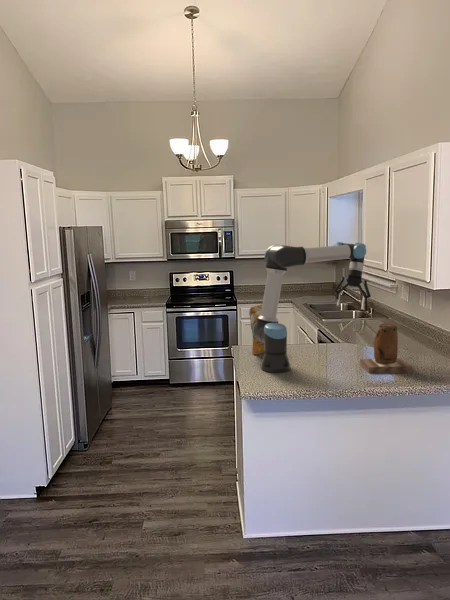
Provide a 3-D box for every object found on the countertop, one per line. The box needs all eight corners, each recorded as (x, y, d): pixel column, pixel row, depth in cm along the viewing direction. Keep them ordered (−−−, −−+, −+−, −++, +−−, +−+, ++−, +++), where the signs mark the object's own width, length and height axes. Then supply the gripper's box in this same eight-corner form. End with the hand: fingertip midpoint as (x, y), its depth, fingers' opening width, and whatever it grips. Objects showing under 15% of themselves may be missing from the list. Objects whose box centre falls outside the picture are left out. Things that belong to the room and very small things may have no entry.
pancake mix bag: (245, 354, 277) (245, 307, 273) (264, 347, 292) (264, 303, 287) (255, 356, 273) (254, 308, 269) (273, 349, 287) (273, 304, 283)
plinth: (368, 373, 239) (369, 366, 238) (359, 364, 254) (360, 358, 253) (412, 372, 239) (412, 365, 239) (400, 363, 254) (400, 357, 254)
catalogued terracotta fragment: (391, 359, 250) (393, 322, 247) (398, 363, 243) (400, 325, 240) (372, 360, 249) (373, 323, 246) (377, 364, 242) (379, 326, 239)
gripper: (376, 274, 270) (371, 311, 268) (332, 268, 273) (327, 304, 271) (379, 272, 263) (373, 310, 261) (334, 266, 265) (328, 303, 264)
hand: (350, 307), depth 266 cm, fingers open, 13 cm apart
